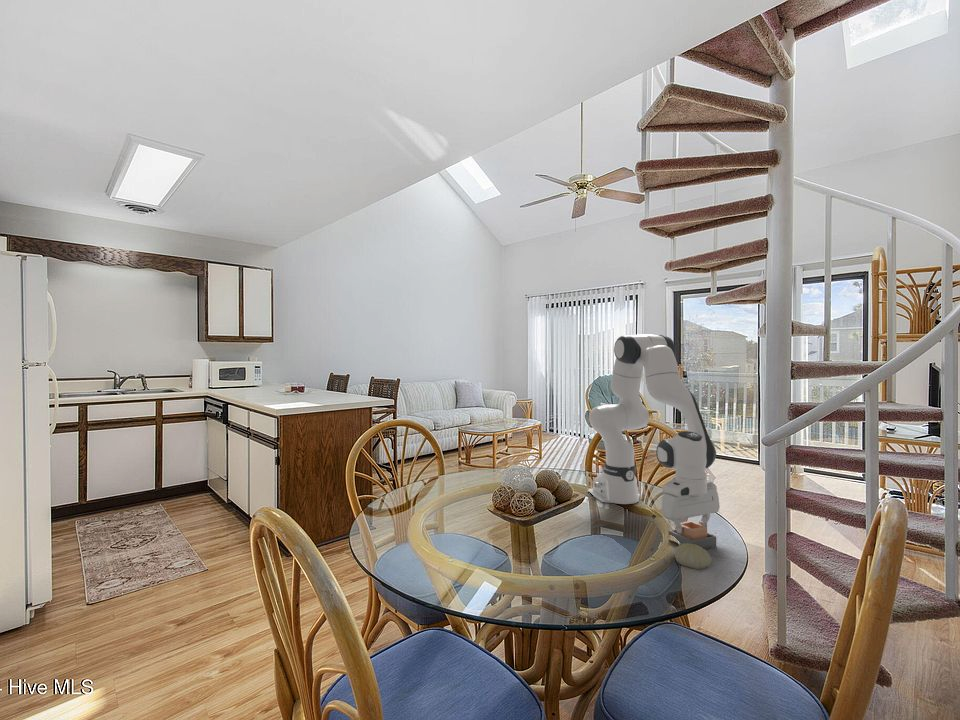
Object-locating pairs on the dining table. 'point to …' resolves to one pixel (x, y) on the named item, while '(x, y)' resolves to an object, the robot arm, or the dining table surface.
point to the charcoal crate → (703, 543)
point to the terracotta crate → (693, 530)
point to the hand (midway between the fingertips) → (691, 529)
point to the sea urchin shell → (692, 556)
